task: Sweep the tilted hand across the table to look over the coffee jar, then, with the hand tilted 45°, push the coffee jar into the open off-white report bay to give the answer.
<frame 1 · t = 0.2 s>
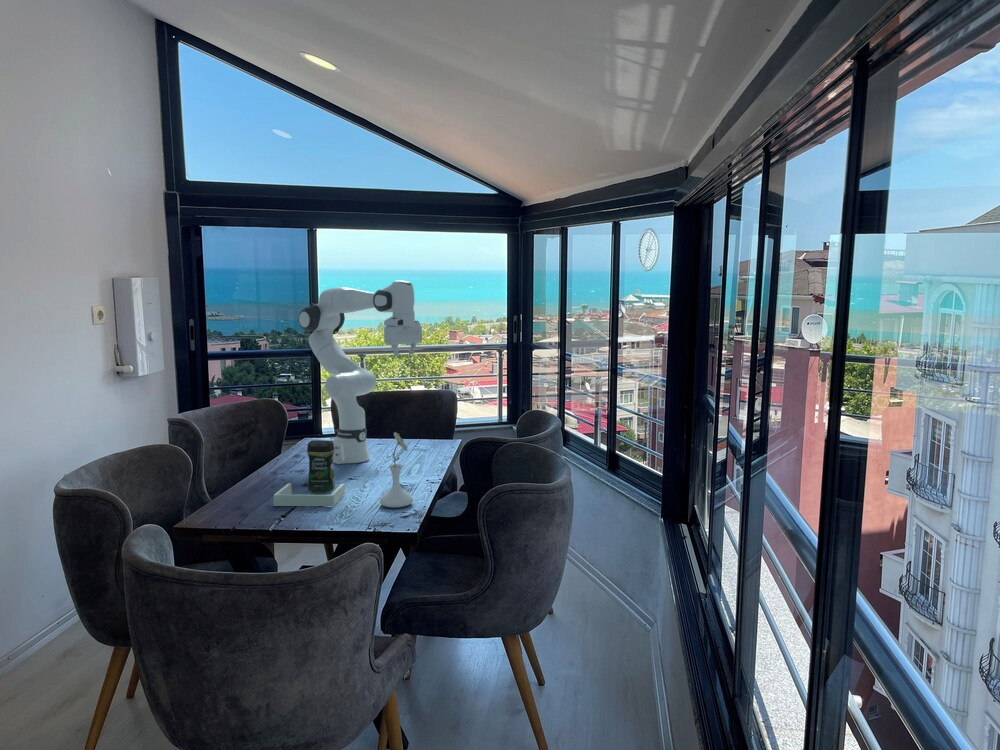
hand: (404, 354, 265), 48 cm above the table, tool pointing down, fingers open, 8 cm apart
report bay: (311, 499, 231), on the table
coffee jar: (321, 489, 243), on the table
flower in vase: (396, 505, 225), on the table
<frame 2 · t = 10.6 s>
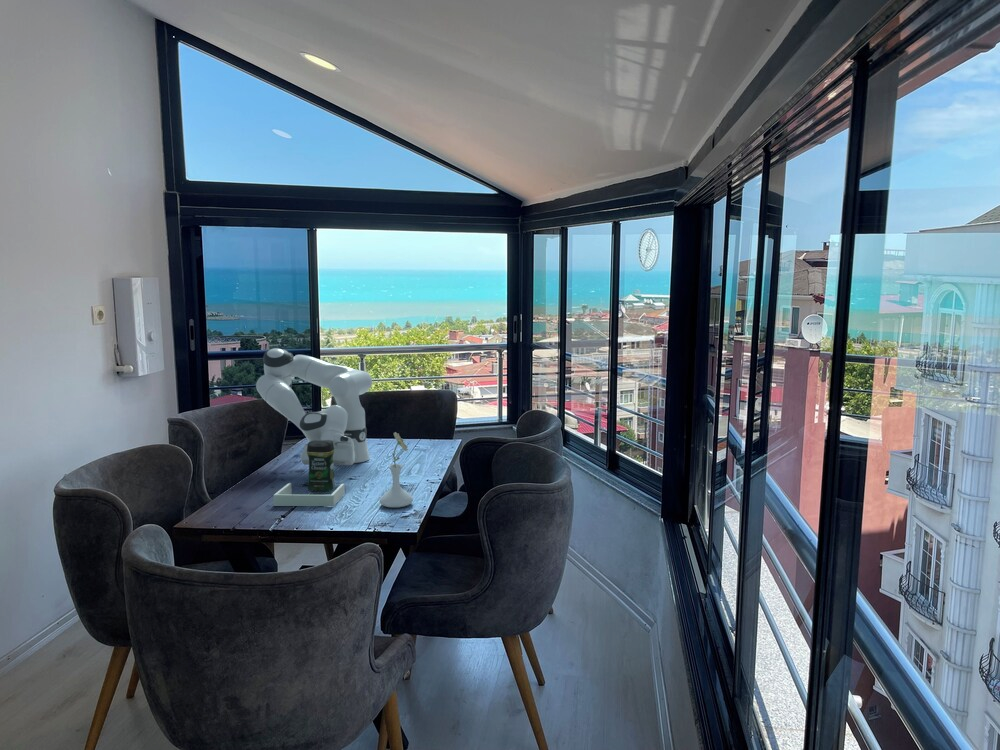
hand: (324, 473, 246), 5 cm above the table, tool tilted 45°, fingers closed
coffee jar: (321, 490, 242), on the table, touching gripper
everything else where it was.
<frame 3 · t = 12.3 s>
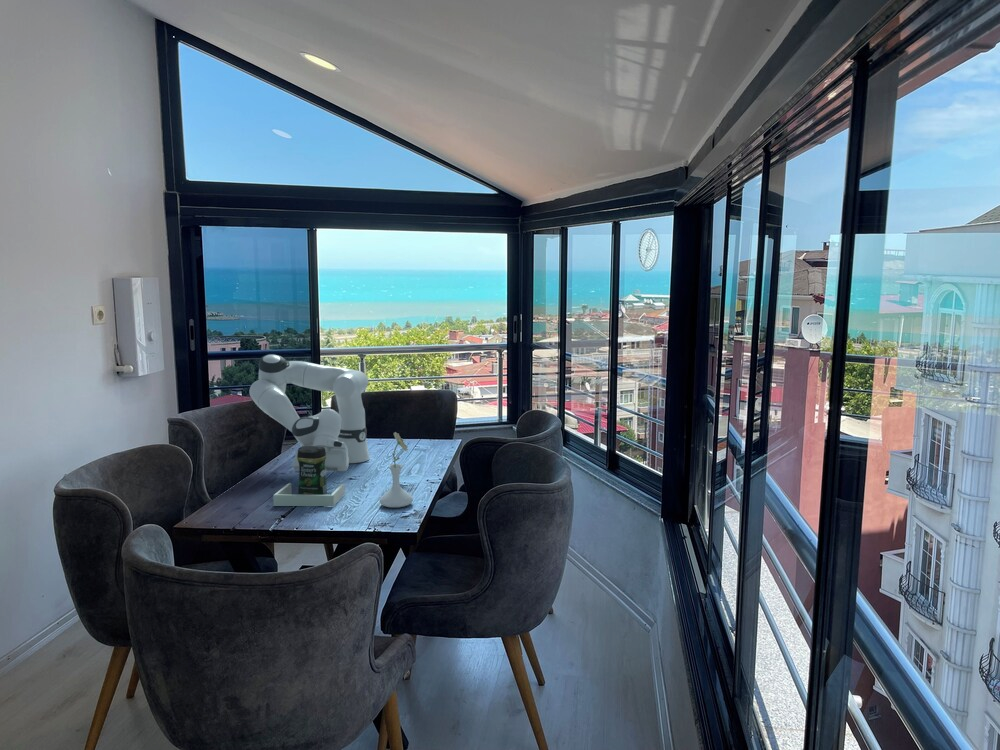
hand: (317, 480, 237), 5 cm above the table, tool tilted 45°, fingers closed, pressing on coffee jar
coffee jar: (312, 497, 233), on the table, touching gripper
everything else where it was.
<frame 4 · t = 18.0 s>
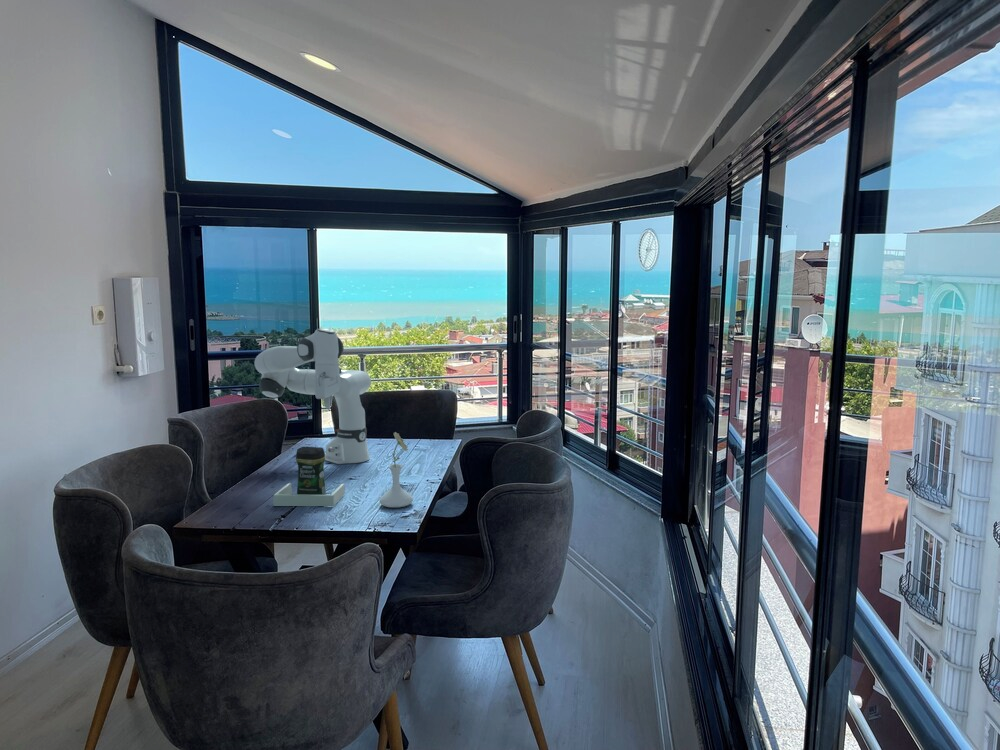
hand: (328, 407, 250), 29 cm above the table, tool pointing down, fingers closed
coffee jar: (311, 498, 232), on the table
everything else where it was.
at the end: coffee jar 1.2 cm from the report bay (horizontally); coffee jar tilted 0° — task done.
